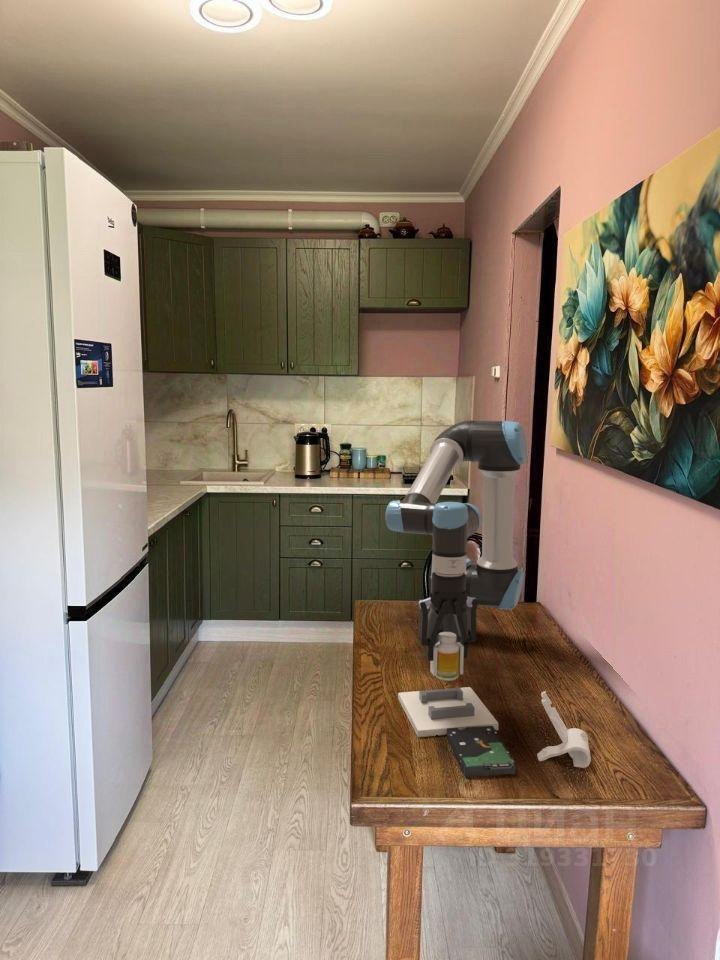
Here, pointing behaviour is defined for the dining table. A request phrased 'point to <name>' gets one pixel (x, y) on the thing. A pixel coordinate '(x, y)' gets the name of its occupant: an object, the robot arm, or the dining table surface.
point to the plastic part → (566, 739)
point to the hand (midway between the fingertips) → (446, 672)
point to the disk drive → (480, 751)
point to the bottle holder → (445, 710)
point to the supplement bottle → (447, 656)
